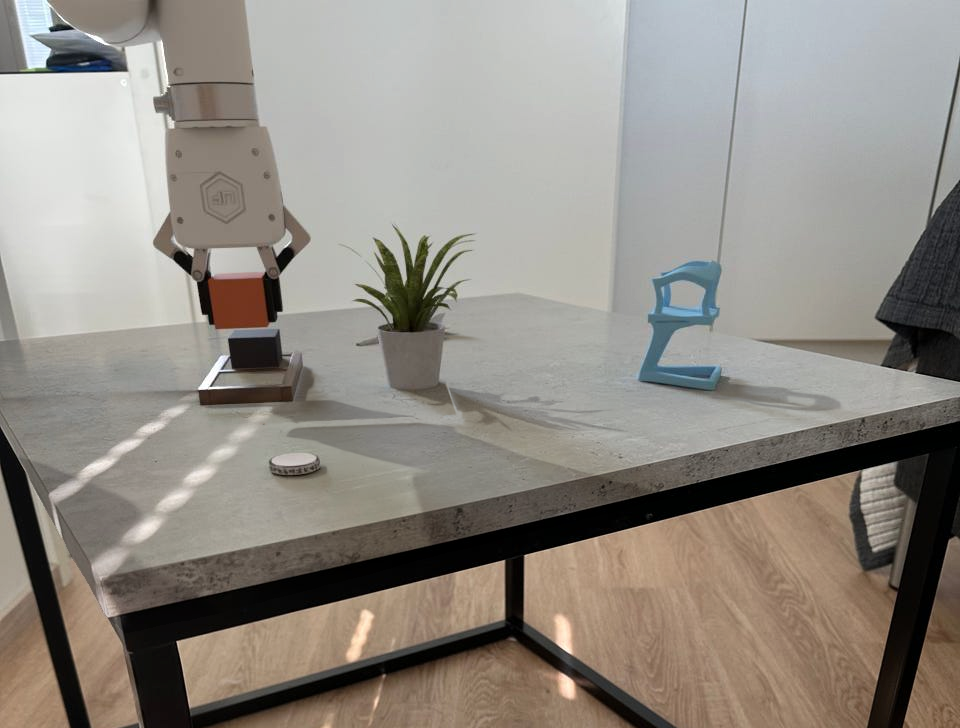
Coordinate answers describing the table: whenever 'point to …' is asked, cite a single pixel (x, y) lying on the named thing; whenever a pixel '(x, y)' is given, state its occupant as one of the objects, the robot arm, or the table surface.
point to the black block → (255, 348)
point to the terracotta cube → (238, 300)
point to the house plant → (411, 315)
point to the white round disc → (294, 463)
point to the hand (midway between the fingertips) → (243, 319)
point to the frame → (251, 392)
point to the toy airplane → (436, 319)
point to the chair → (681, 325)
